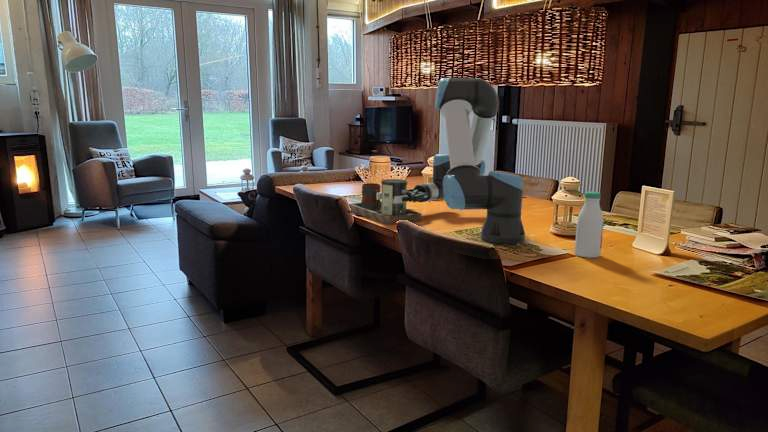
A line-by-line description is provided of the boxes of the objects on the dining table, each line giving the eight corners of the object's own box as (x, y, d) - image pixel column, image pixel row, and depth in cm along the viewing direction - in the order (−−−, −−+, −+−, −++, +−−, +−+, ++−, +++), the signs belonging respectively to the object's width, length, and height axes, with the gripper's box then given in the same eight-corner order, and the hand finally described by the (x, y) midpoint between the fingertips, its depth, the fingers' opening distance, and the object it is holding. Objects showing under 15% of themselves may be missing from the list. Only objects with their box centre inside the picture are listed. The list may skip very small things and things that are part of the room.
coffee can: (408, 213, 228) (408, 179, 226) (404, 218, 219) (404, 183, 216) (383, 212, 230) (384, 178, 228) (378, 217, 221) (378, 182, 218)
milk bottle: (597, 259, 169) (603, 195, 165) (571, 256, 173) (576, 192, 169) (602, 254, 176) (608, 191, 172) (577, 250, 180) (582, 189, 176)
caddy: (421, 220, 222) (421, 213, 222) (387, 224, 214) (387, 217, 213) (379, 207, 249) (379, 200, 248) (348, 210, 241) (348, 203, 240)
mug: (369, 215, 231) (369, 187, 229) (357, 210, 242) (358, 183, 240) (387, 213, 235) (388, 186, 233) (375, 208, 246) (376, 182, 243)
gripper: (444, 205, 227) (405, 211, 213) (406, 197, 244) (367, 203, 229) (445, 187, 226) (405, 192, 211) (406, 180, 242) (367, 185, 228)
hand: (385, 198), depth 220 cm, fingers closed on coffee can, 10 cm apart
